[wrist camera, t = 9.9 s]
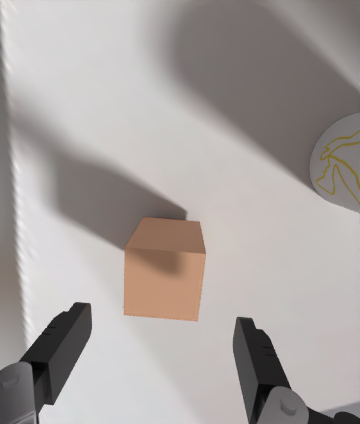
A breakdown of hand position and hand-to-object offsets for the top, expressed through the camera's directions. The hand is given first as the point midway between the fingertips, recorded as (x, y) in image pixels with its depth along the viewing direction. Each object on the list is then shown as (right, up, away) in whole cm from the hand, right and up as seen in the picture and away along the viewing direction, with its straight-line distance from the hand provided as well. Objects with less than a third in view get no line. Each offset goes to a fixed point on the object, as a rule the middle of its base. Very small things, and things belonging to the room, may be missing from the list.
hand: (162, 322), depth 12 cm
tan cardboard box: (0, +3, +9) cm, 10 cm away
